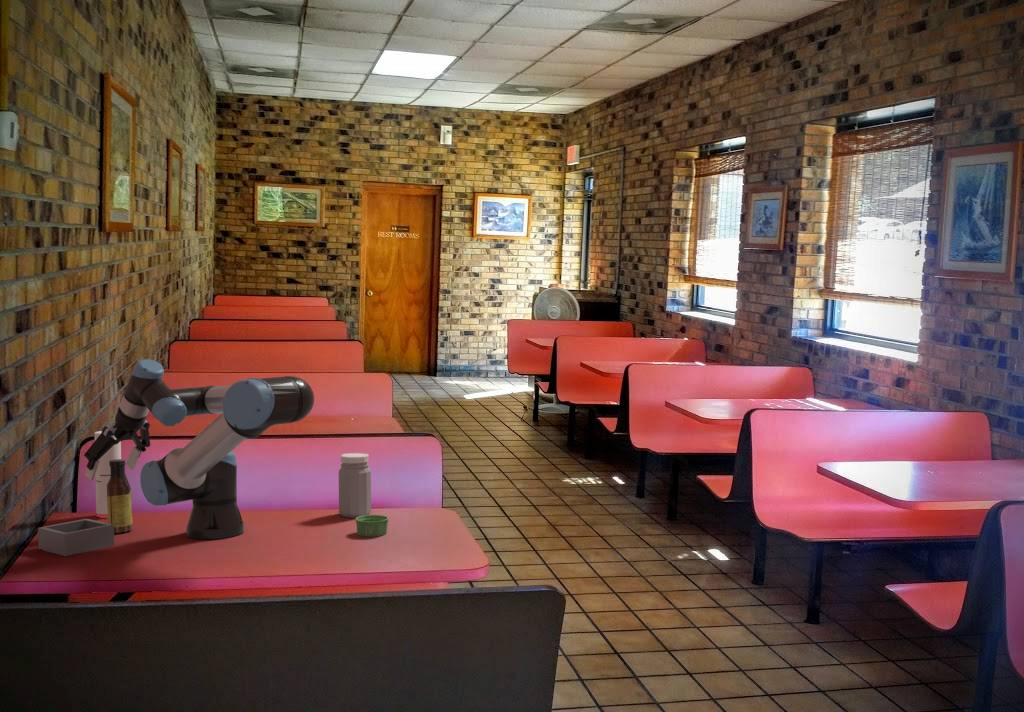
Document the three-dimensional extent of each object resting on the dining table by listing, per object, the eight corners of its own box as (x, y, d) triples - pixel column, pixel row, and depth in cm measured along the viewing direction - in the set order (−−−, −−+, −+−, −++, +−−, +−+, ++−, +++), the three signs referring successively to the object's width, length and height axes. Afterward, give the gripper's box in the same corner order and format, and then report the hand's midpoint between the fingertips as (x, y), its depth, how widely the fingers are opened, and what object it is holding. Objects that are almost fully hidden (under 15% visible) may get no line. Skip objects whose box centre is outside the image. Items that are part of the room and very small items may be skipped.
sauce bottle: (137, 530, 274) (136, 459, 273) (120, 535, 268) (118, 462, 267) (120, 528, 277) (118, 457, 276) (102, 532, 271) (101, 460, 270)
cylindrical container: (116, 518, 289) (114, 433, 288) (92, 518, 289) (90, 433, 288) (126, 513, 296) (124, 430, 295) (102, 513, 297) (100, 430, 295)
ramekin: (395, 533, 271) (395, 517, 271) (369, 539, 264) (369, 523, 264) (374, 528, 277) (374, 513, 277) (348, 534, 270) (348, 518, 270)
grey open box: (114, 545, 257) (113, 524, 256) (65, 556, 246) (64, 534, 245) (87, 539, 264) (86, 518, 263) (38, 549, 253) (37, 527, 253)
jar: (335, 512, 297) (334, 453, 296) (367, 510, 301) (366, 451, 300) (342, 519, 288) (342, 458, 287) (375, 516, 292) (375, 456, 291)
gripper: (160, 396, 280) (137, 454, 288) (85, 410, 258) (62, 473, 266) (177, 411, 277) (153, 470, 285) (102, 427, 256) (79, 490, 263)
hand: (109, 472), depth 275 cm, fingers open, 13 cm apart
